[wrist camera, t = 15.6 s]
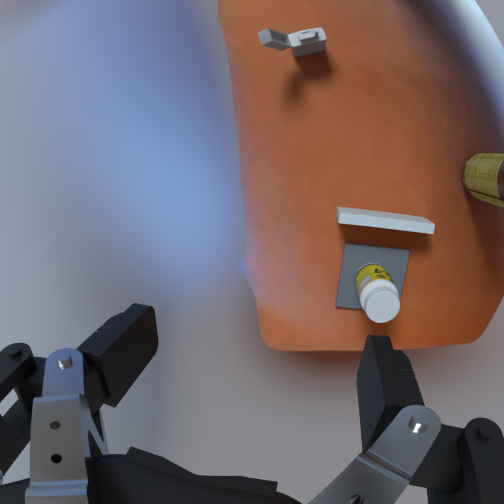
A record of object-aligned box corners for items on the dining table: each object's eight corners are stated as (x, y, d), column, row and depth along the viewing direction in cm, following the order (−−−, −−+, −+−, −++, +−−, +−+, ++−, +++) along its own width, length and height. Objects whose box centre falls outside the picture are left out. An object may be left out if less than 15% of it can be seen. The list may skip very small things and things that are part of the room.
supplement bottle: (395, 274, 39) (411, 302, 31) (373, 300, 40) (384, 333, 33) (368, 254, 39) (381, 280, 31) (347, 282, 40) (354, 313, 33)
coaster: (344, 242, 39) (345, 244, 39) (408, 249, 38) (409, 251, 37) (335, 304, 42) (335, 306, 42) (395, 309, 41) (396, 311, 40)
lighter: (321, 39, 32) (322, 14, 24) (325, 50, 32) (328, 27, 25) (267, 52, 34) (256, 30, 26) (271, 63, 34) (261, 43, 26)
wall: (337, 206, 38) (339, 212, 34) (424, 217, 36) (434, 224, 32) (336, 216, 39) (338, 223, 35) (422, 226, 37) (433, 234, 33)
